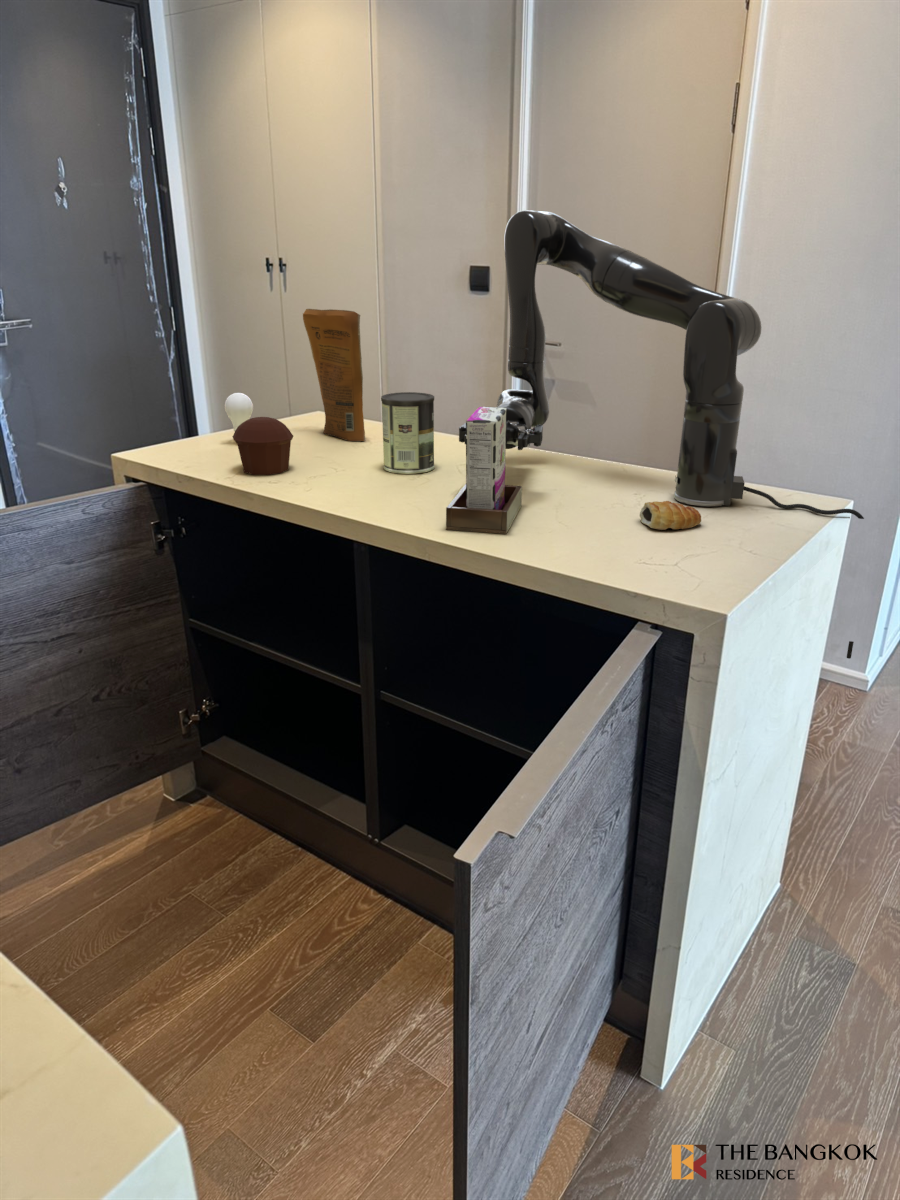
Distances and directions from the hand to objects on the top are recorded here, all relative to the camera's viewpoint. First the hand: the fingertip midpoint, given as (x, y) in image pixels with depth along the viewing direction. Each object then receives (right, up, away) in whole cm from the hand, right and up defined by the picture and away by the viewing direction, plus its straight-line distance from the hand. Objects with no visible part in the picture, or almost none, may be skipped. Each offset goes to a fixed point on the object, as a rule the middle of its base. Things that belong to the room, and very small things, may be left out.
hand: (494, 442), depth 143 cm
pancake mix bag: (-32, +11, +56) cm, 65 cm away
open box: (-2, -13, -2) cm, 13 cm away
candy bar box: (-2, -12, -2) cm, 13 cm away
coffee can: (-16, 0, +28) cm, 32 cm away
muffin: (-44, -1, +27) cm, 51 cm away
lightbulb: (-54, +9, +49) cm, 73 cm away
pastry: (+27, -14, -5) cm, 31 cm away
